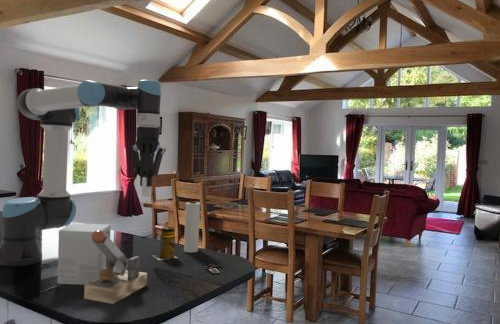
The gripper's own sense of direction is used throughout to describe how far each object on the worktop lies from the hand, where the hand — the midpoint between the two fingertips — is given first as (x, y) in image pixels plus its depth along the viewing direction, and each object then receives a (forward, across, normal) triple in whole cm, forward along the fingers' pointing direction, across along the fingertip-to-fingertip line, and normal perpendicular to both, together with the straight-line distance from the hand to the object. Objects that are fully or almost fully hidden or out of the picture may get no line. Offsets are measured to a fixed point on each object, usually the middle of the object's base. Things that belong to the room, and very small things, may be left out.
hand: (145, 196), depth 145 cm
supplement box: (+29, -17, -8) cm, 35 cm away
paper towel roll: (+29, -1, +41) cm, 50 cm away
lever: (+22, 0, -12) cm, 25 cm away
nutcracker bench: (+28, 0, -14) cm, 32 cm away
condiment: (+29, -7, +27) cm, 40 cm away
